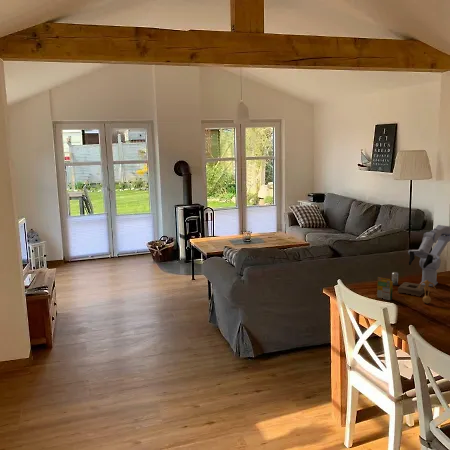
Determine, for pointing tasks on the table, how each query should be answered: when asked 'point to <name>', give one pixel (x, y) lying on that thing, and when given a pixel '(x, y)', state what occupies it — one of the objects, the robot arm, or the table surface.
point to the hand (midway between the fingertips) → (416, 265)
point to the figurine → (426, 298)
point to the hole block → (411, 289)
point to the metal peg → (395, 278)
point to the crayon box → (384, 288)
